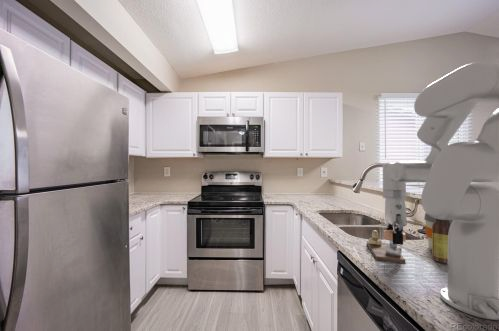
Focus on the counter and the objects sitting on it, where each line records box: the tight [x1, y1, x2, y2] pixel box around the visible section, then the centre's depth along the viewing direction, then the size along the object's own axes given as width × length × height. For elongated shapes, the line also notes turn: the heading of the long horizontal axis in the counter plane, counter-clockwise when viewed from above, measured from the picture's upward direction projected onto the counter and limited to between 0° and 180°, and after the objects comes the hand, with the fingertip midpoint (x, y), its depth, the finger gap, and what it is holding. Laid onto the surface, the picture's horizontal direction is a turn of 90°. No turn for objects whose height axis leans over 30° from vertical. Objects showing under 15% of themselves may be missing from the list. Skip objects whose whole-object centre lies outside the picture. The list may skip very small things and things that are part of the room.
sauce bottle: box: [431, 219, 450, 264], centre depth 87 cm, size 7×6×20 cm
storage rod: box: [386, 240, 402, 258], centre depth 88 cm, size 5×5×7 cm
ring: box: [382, 229, 407, 243], centre depth 88 cm, size 7×7×2 cm
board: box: [366, 240, 406, 264], centre depth 94 cm, size 18×10×2 cm, turn 163°
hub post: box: [368, 229, 383, 246], centre depth 100 cm, size 5×5×6 cm
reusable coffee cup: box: [423, 212, 453, 250], centre depth 99 cm, size 13×13×15 cm
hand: (394, 240), depth 88 cm, fingers closed on ring, 7 cm apart
